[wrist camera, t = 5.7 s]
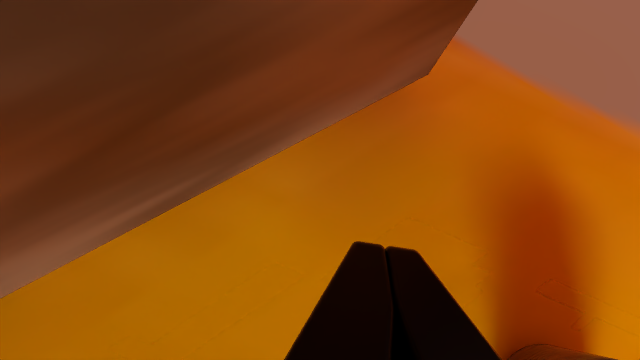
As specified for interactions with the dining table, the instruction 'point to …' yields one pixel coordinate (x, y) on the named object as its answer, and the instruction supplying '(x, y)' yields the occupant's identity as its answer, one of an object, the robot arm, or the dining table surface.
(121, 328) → the dining table surface
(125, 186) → the gate leaf
